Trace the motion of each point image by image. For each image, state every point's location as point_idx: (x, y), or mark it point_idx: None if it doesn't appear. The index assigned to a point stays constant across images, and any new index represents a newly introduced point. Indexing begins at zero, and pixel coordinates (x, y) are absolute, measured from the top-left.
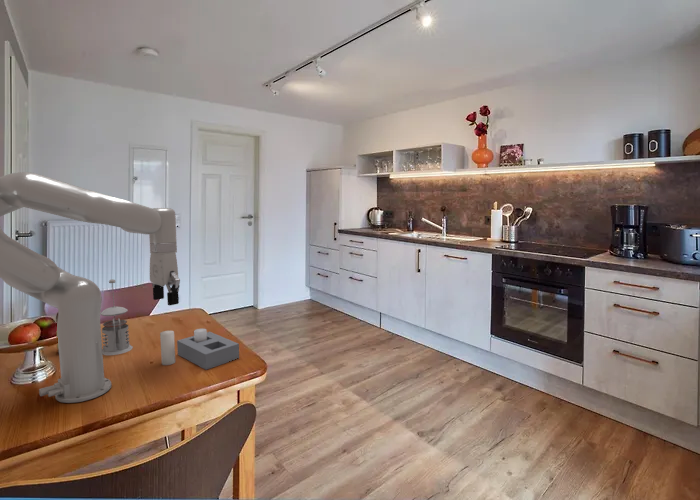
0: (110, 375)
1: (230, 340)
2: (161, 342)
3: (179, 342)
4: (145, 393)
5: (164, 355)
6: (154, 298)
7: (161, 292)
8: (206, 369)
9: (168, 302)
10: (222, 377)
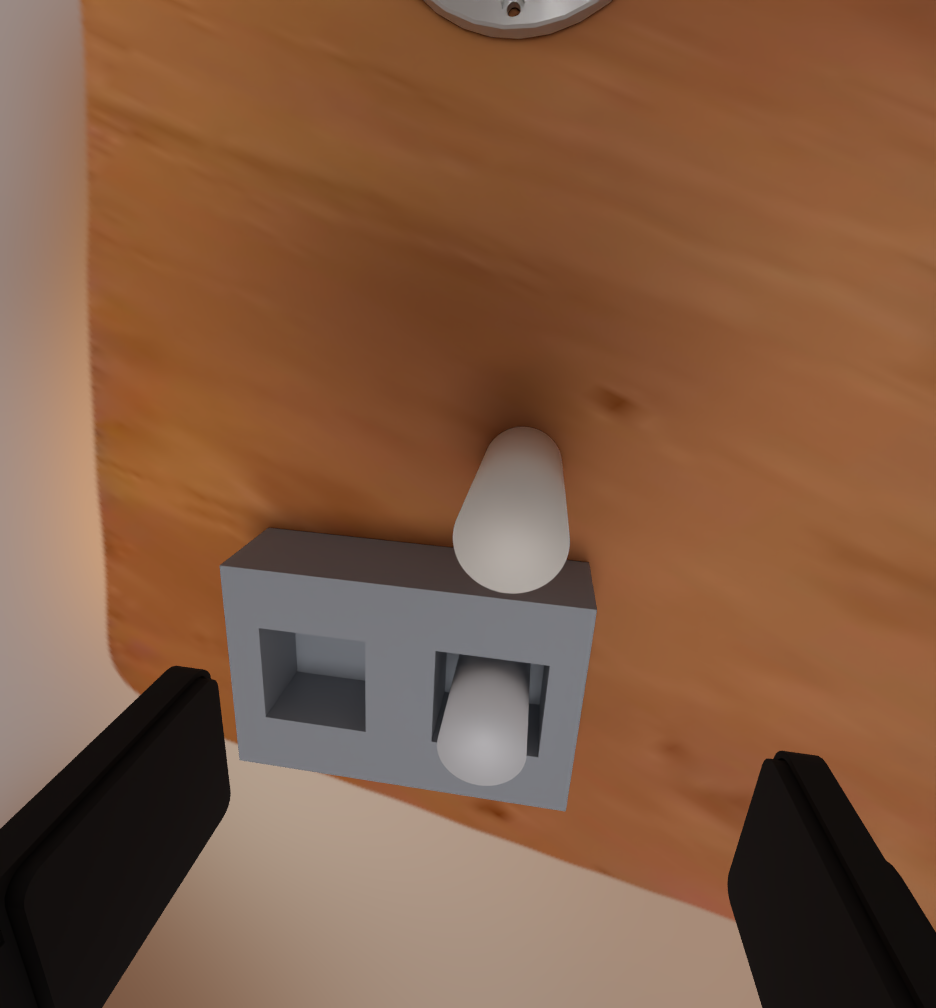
0: (648, 105)
1: (320, 771)
2: (514, 464)
3: (560, 602)
4: (218, 151)
5: (498, 445)
6: (789, 773)
7: (784, 998)
8: (267, 530)
9: (143, 697)
10: (135, 520)
